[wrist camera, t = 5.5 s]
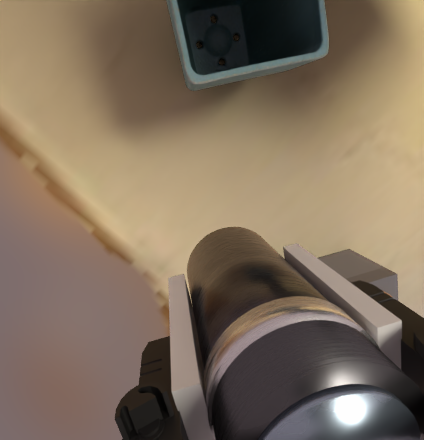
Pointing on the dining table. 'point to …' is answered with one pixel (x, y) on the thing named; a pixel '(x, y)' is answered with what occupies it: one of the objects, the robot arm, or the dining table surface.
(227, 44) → the flower pot
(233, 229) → the lens
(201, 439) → the robot arm
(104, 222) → the dining table surface
